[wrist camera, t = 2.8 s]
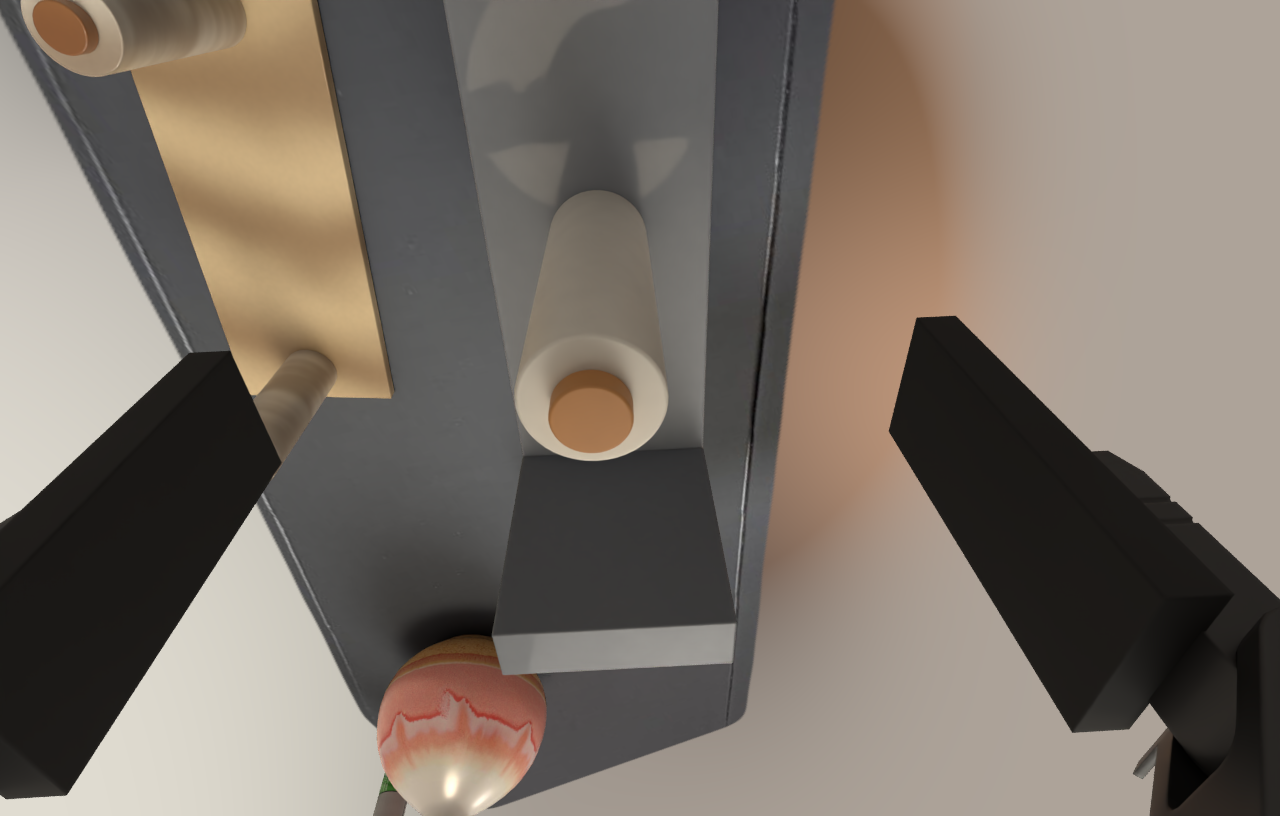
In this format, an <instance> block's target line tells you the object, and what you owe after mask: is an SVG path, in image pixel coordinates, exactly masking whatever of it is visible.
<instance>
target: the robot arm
mask: <svg viewBox="0 0 1280 816" xmlns="http://www.w3.org/2000/svg"><path fill="white" fill-rule="evenodd" d="M889 432H890V434H891V436H892V437H893V439H894V441H895V442H896V444H897V446H898V447H899V449H900V451H901V452H902V454H903V455H904V457H905V459H906V460H907V462H908V464H909V465H910V467H911V469H912V470H913V472H914V473H915V475H916V477H917V478H918V480H919V482H920V483H921V485H922V487H923V488H924V490H925V491H926V493H927V495H928V497H929V498H930V500H931V501H932V503H933V505H934V506H935V508H936V509H937V511H938V513H939V514H940V516H941V518H942V519H943V521H944V523H945V524H946V526H947V528H948V529H949V531H950V533H951V534H952V536H953V538H954V539H955V541H956V542H957V544H958V546H959V547H960V549H961V551H962V552H963V554H964V555H965V557H966V559H967V560H968V562H969V564H970V565H971V567H972V569H973V570H974V572H975V573H976V575H977V577H978V578H979V580H980V582H981V583H982V585H983V587H984V588H985V590H986V592H987V593H988V595H989V596H990V598H991V600H992V601H993V603H994V605H995V606H996V608H997V610H998V611H999V613H1000V615H1001V616H1002V618H1003V620H1004V621H1005V623H1006V625H1007V626H1008V628H1009V629H1010V631H1011V633H1012V634H1013V636H1014V637H1015V639H1016V641H1017V643H1018V644H1019V646H1020V647H1021V649H1022V651H1023V652H1024V654H1025V656H1026V657H1027V659H1028V661H1029V662H1030V664H1031V665H1032V667H1033V669H1034V670H1035V672H1036V674H1037V675H1038V677H1039V679H1040V680H1041V682H1042V683H1043V685H1044V687H1045V688H1046V690H1047V692H1048V693H1049V695H1050V697H1051V698H1052V700H1053V702H1054V703H1055V705H1056V707H1057V708H1058V710H1059V711H1060V713H1061V715H1062V716H1063V718H1064V720H1065V721H1066V723H1067V725H1068V726H1069V728H1070V730H1071V731H1072V733H1076V732H1091V731H1108V730H1124V729H1130V727H1131V726H1132V725H1133V723H1134V722H1135V721H1136V720H1137V719H1138V717H1139V716H1140V715H1141V713H1142V712H1143V711H1144V710H1145V708H1146V707H1147V706H1148V704H1149V703H1150V704H1151V706H1152V707H1153V708H1154V710H1155V711H1156V712H1157V714H1158V715H1159V716H1160V718H1161V719H1162V720H1163V722H1164V723H1165V724H1166V726H1167V727H1168V728H1167V729H1166V730H1165V731H1164V732H1163V734H1162V735H1161V736H1160V737H1159V738H1158V739H1157V741H1156V742H1155V743H1154V744H1153V745H1152V747H1151V748H1150V749H1149V750H1148V751H1147V752H1146V754H1145V755H1144V756H1143V757H1142V758H1141V760H1140V761H1139V762H1138V764H1137V766H1136V768H1135V770H1134V772H1133V774H1134V775H1136V776H1137V777H1139V778H1141V779H1143V778H1144V777H1145V776H1146V775H1147V774H1148V772H1149V771H1150V770H1151V769H1152V768H1153V767H1154V766H1155V772H1154V782H1153V791H1152V800H1151V808H1150V816H1280V599H1279V598H1278V597H1277V596H1276V595H1275V594H1273V593H1272V592H1271V591H1270V590H1269V589H1268V588H1267V587H1266V586H1265V585H1264V584H1263V583H1262V582H1261V581H1260V580H1259V579H1258V578H1256V577H1255V576H1254V575H1253V574H1252V573H1251V572H1250V571H1249V570H1248V569H1247V568H1246V567H1245V566H1244V565H1243V564H1242V563H1240V562H1239V561H1238V560H1237V559H1236V558H1235V557H1234V556H1233V555H1232V554H1231V553H1230V552H1229V551H1228V550H1227V549H1225V548H1224V547H1223V546H1222V545H1221V544H1220V543H1219V542H1218V541H1217V540H1216V539H1215V538H1214V537H1213V536H1212V535H1211V534H1210V533H1209V532H1207V531H1206V530H1205V529H1204V528H1203V527H1202V526H1201V525H1200V524H1199V523H1193V521H1192V518H1193V517H1192V516H1190V515H1189V514H1188V513H1187V512H1186V511H1185V510H1184V509H1183V508H1182V507H1181V506H1180V505H1179V504H1178V503H1177V502H1171V500H1170V496H1169V495H1168V494H1167V493H1166V492H1165V491H1164V490H1163V489H1162V488H1161V487H1160V486H1159V485H1157V484H1156V483H1155V482H1154V481H1153V480H1152V479H1151V478H1150V477H1149V476H1148V475H1147V474H1146V473H1145V472H1144V471H1142V470H1140V469H1138V468H1137V467H1135V466H1133V465H1132V464H1130V463H1128V462H1126V461H1125V460H1123V459H1121V458H1120V457H1118V456H1116V455H1114V454H1113V453H1111V452H1109V451H1094V452H1091V451H1090V450H1089V449H1088V448H1087V447H1086V446H1085V445H1084V444H1083V443H1082V442H1081V441H1080V440H1079V439H1078V438H1077V437H1076V436H1075V435H1074V434H1073V433H1072V432H1071V431H1070V430H1069V429H1068V428H1067V427H1066V426H1065V425H1064V424H1063V423H1062V422H1061V421H1060V420H1059V419H1058V418H1057V417H1056V416H1055V415H1054V414H1053V413H1052V412H1051V411H1050V410H1049V409H1048V408H1047V407H1046V406H1045V405H1044V404H1043V403H1042V402H1041V401H1040V400H1039V399H1038V398H1037V397H1036V396H1035V395H1034V394H1033V393H1032V392H1031V391H1030V390H1029V389H1028V388H1027V387H1026V386H1025V385H1024V384H1023V383H1022V382H1021V381H1020V380H1019V379H1018V378H1017V377H1016V376H1015V375H1014V374H1013V373H1012V372H1011V371H1010V370H1009V369H1008V368H1007V367H1006V366H1005V365H1004V364H1003V363H1002V362H1001V361H1000V360H999V359H998V358H997V357H996V356H995V355H994V354H993V353H992V352H991V351H990V350H989V349H988V348H987V347H986V346H985V345H984V344H983V343H982V342H981V341H980V340H979V339H978V338H977V337H976V336H975V335H974V334H973V333H972V332H971V331H970V330H969V329H968V328H967V327H966V326H965V325H964V324H963V323H962V322H961V321H960V320H959V319H958V318H957V317H956V316H942V317H921V318H917V319H916V322H915V326H914V330H913V335H912V339H911V343H910V347H909V351H908V355H907V359H906V364H905V367H904V371H903V375H902V380H901V383H900V388H899V392H898V396H897V400H896V404H895V408H894V413H893V416H892V420H891V424H890V428H889ZM281 464H282V462H281V460H280V458H279V456H278V453H277V451H276V449H275V447H274V445H273V442H272V440H271V438H270V436H269V434H268V432H267V429H266V427H265V425H264V423H263V421H262V419H261V416H260V414H259V412H258V410H257V408H256V406H255V403H254V401H253V399H252V397H251V395H250V393H249V390H248V388H247V386H246V384H245V382H244V380H243V377H242V375H241V373H240V371H239V369H238V367H237V364H236V362H235V360H234V358H233V356H232V354H231V351H219V352H198V353H189V354H188V355H187V356H185V357H184V358H183V359H182V360H181V361H180V362H179V363H178V364H177V365H176V366H175V367H174V368H173V369H172V370H171V371H170V372H168V373H167V374H166V375H165V376H164V377H163V378H162V379H161V380H160V381H159V382H158V383H157V384H156V385H154V386H153V387H152V388H151V389H150V390H149V391H148V392H147V393H146V394H145V395H144V396H143V397H142V398H141V399H140V400H138V402H136V403H135V404H134V405H133V406H132V407H131V408H130V409H129V410H128V411H127V412H126V413H125V414H123V415H122V416H121V417H120V418H119V419H118V420H117V421H116V422H115V423H114V424H113V425H112V426H111V427H110V428H108V429H107V430H106V432H104V433H103V434H102V435H101V436H100V437H99V438H98V439H97V440H96V441H95V442H94V443H92V444H91V445H90V446H89V447H88V448H87V449H86V450H85V451H84V452H83V453H82V454H81V455H80V456H79V457H77V458H76V459H75V460H74V461H73V462H72V463H71V464H70V465H69V466H68V467H67V468H66V469H65V470H64V471H63V472H61V473H60V474H59V476H57V477H56V478H55V479H54V480H53V481H52V482H51V483H50V484H49V485H48V486H46V488H44V489H43V490H42V491H41V492H40V493H39V494H38V495H37V496H36V497H35V498H34V499H33V500H32V501H30V502H29V503H28V504H27V505H26V506H25V507H24V508H23V509H22V510H21V511H19V512H17V513H16V514H14V515H13V516H11V517H10V518H8V519H6V520H5V521H3V522H2V523H0V795H1V796H2V797H4V798H5V799H16V798H32V797H49V796H65V795H67V794H68V793H69V791H70V790H71V788H72V786H73V785H74V783H75V782H76V780H77V779H78V777H79V776H80V774H81V773H82V771H83V769H84V768H85V766H86V765H87V763H88V762H89V760H90V759H91V757H92V756H93V754H94V752H95V750H96V749H97V748H98V746H99V745H100V743H101V742H102V740H103V739H104V737H105V735H106V734H107V732H108V731H109V729H110V728H111V726H112V725H113V723H114V722H115V720H116V718H117V717H118V715H119V714H120V712H121V711H122V709H123V708H124V706H125V704H126V703H127V701H128V700H129V698H130V697H131V695H132V694H133V692H134V691H135V689H136V688H137V686H138V684H139V683H140V681H141V680H142V678H143V677H144V675H145V674H146V672H147V671H148V669H149V667H150V666H151V664H152V663H153V661H154V660H155V658H156V656H157V655H158V653H159V652H160V650H161V649H162V647H163V646H164V644H165V643H166V641H167V640H168V638H169V637H170V635H171V633H172V632H173V630H174V629H175V627H176V626H177V624H178V623H179V621H180V619H181V618H182V616H183V615H184V613H185V612H186V610H187V609H188V607H189V606H190V604H191V602H192V601H193V599H194V598H195V596H196V595H197V593H198V592H199V590H200V589H201V587H202V586H203V584H204V582H205V581H206V579H207V578H208V576H209V575H210V573H211V572H212V570H213V569H214V567H215V566H216V564H217V562H218V561H219V559H220V558H221V556H222V555H223V553H224V552H225V550H226V549H227V547H228V545H229V544H230V542H231V541H232V539H233V538H234V536H235V534H236V533H237V531H238V530H239V528H240V527H241V525H242V524H243V522H244V521H245V519H246V518H247V516H248V515H249V513H250V511H251V510H252V508H253V507H254V505H255V504H256V502H257V501H258V499H259V498H260V496H261V494H262V493H263V491H264V490H265V488H266V487H267V485H268V484H269V482H270V481H271V479H272V477H273V476H274V474H275V473H276V471H277V470H278V468H279V467H280V465H281Z"/></svg>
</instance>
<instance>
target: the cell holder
mask: <svg viewBox="0 0 1280 816" xmlns="http://www.w3.org/2000/svg"><path fill="white" fill-rule="evenodd" d="M21 10H22V14H23V18H24V20H25V23H26V25H27V28H28V30H29V31H30V33H31V35H32V36H33V38H34V39H35V41H36V42H37V44H38V45H39V46H40V47H41V48H42V49H43V50H44V51H45V52H46V53H47V54H48V55H49V56H50V57H51V58H52V59H53V60H55V61H56V62H57V63H59V64H60V65H62V66H63V67H65V68H67V69H69V70H71V71H73V72H75V73H78V74H81V75H85V76H91V77H101V76H106V75H111V74H115V73H119V72H124V71H128V70H131V73H132V76H133V79H134V82H135V84H136V87H137V90H138V93H139V95H140V98H141V101H142V104H143V107H144V109H145V112H146V115H147V118H148V121H149V123H150V126H151V129H152V132H153V135H154V137H155V140H156V143H157V146H158V148H159V151H160V154H161V157H162V160H163V162H164V165H165V168H166V171H167V174H168V176H169V179H170V182H171V185H172V188H173V190H174V193H175V196H176V199H177V201H178V204H179V207H180V210H181V213H182V215H183V218H184V221H185V224H186V227H187V229H188V232H189V235H190V238H191V241H192V243H193V246H194V249H195V252H196V255H197V257H198V260H199V263H200V266H201V268H202V271H203V274H204V277H205V280H206V282H207V285H208V288H209V291H210V294H211V296H212V299H213V302H214V305H215V308H216V310H217V313H218V316H219V319H220V321H221V324H222V327H223V330H224V333H225V335H226V338H227V341H228V344H229V347H230V349H231V352H232V355H233V358H234V360H235V362H236V364H237V367H238V369H239V371H240V373H241V375H242V377H243V380H244V382H245V384H246V386H247V388H248V390H249V393H250V395H257V396H256V397H255V399H254V400H253V401H254V403H255V406H256V408H257V410H258V412H259V414H260V416H261V419H262V421H263V423H264V425H265V427H266V429H267V432H268V434H269V436H270V438H271V440H272V442H273V445H274V447H275V449H276V451H277V453H278V456H279V458H280V460H281V462H282V464H283V462H284V461H285V459H286V458H287V456H288V454H289V453H290V451H291V450H292V448H293V447H294V445H295V444H296V442H297V441H298V439H299V438H300V436H301V435H302V433H303V431H304V430H305V428H306V427H307V425H308V424H309V422H310V421H311V419H312V418H313V416H314V415H315V413H316V412H317V410H318V408H319V407H320V405H321V404H322V402H323V401H324V399H325V398H326V397H355V398H392V396H393V394H394V387H393V382H392V377H391V372H390V367H389V362H388V357H387V352H386V346H385V341H384V336H383V331H382V326H381V321H380V316H379V311H378V306H377V301H376V296H375V291H374V286H373V281H372V275H371V270H370V265H369V260H368V255H367V250H366V245H365V240H364V235H363V230H362V225H361V220H360V215H359V210H358V204H357V199H356V194H355V189H354V184H353V179H352V174H351V169H350V164H349V159H348V154H347V149H346V144H345V139H344V133H343V128H342V123H341V118H340V113H339V108H338V103H337V98H336V93H335V88H334V83H333V78H332V73H331V68H330V62H329V57H328V52H327V47H326V42H325V37H324V32H323V27H322V22H321V17H320V12H319V7H318V2H317V0H21ZM282 464H281V465H282ZM281 465H280V467H281ZM280 467H279V468H280ZM279 468H278V470H279ZM278 470H277V471H278ZM277 471H276V473H277ZM276 473H275V474H276ZM275 474H274V476H275ZM274 476H273V477H274ZM273 477H272V479H273ZM272 479H271V480H272Z"/></svg>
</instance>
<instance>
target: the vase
mask: <svg viewBox="0 0 1280 816" xmlns="http://www.w3.org/2000/svg"><path fill="white" fill-rule="evenodd" d="M546 707H547V706H546V697H545V693H544V689H543V686H542V683H541V681H540V679H539V677H538V675H537V673H536V674H517V675H502V671H501V668H500V664H499V660H498V656H497V653H496V649H495V645H494V642H493V638H492V637H490V636H485V635H479V634H465V635H459V636H455V637H452V638H449V639H447V640H445V641H442V642H439V643H436V644H434V645H431V646H429V647H427V648H425V649H424V650H422V651H420V652H419V653H417V654H416V655H414V656H413V657H412V658H411V659H410V660H408V661H407V662H406V663H405V664H404V665H403V666H402V667H401V668H400V669H399V670H398V672H397V673H396V675H395V676H394V677H393V679H392V680H391V682H390V683H389V685H388V687H387V689H386V692H385V695H384V697H383V700H382V703H381V706H380V710H379V716H378V725H377V744H378V751H379V755H380V759H381V763H382V766H383V768H384V771H385V773H386V775H387V777H388V779H389V780H390V782H391V783H392V785H393V787H394V788H395V789H396V790H397V792H398V793H399V794H400V795H401V796H402V797H403V798H404V799H405V800H406V801H407V802H408V803H409V804H410V805H411V806H412V807H413V808H414V809H415V810H417V811H418V812H419V813H420V814H421V815H422V816H474V815H476V814H477V813H479V812H481V811H483V810H485V809H486V808H488V807H490V806H491V805H493V804H494V803H496V802H497V801H498V800H500V799H501V798H503V797H504V796H505V795H506V794H507V793H508V792H510V791H511V790H512V789H513V788H514V787H515V786H516V785H517V784H518V783H519V781H520V780H521V779H522V778H523V777H524V775H525V774H526V772H527V771H528V769H529V768H530V766H531V765H532V763H533V761H534V759H535V757H536V755H537V753H538V750H539V747H540V744H541V741H542V739H543V735H544V731H545V724H546Z"/></svg>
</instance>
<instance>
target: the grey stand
mask: <svg viewBox="0 0 1280 816" xmlns="http://www.w3.org/2000/svg"><path fill="white" fill-rule="evenodd" d="M443 2H444V8H445V14H446V19H447V25H448V31H449V36H450V42H451V48H452V53H453V59H454V65H455V71H456V76H457V82H458V88H459V93H460V99H461V105H462V110H463V116H464V122H465V128H466V133H467V139H468V145H469V150H470V156H471V162H472V167H473V173H474V179H475V184H476V190H477V196H478V202H479V207H480V213H481V219H482V224H483V230H484V236H485V241H486V247H487V253H488V258H489V264H490V270H491V276H492V281H493V287H494V293H495V298H496V304H497V310H498V315H499V321H500V327H501V333H502V338H503V344H504V350H505V355H506V361H507V367H508V372H509V378H510V384H511V389H512V395H513V401H514V407H515V400H514V388H515V384H516V379H517V374H518V370H519V365H520V361H521V356H522V352H523V347H524V343H525V338H526V334H527V329H528V325H529V320H530V316H531V311H532V307H533V303H534V298H535V294H536V289H537V285H538V280H539V276H540V271H541V267H542V262H543V258H544V253H545V249H546V244H547V240H548V235H549V231H550V226H551V222H552V220H553V217H554V215H555V213H556V212H557V210H558V209H559V208H560V206H561V205H562V204H563V203H564V202H565V201H567V200H568V199H569V198H571V197H573V196H574V195H576V194H579V193H581V192H585V191H591V190H603V191H609V192H612V193H615V194H618V195H620V196H622V197H623V198H625V199H626V200H628V201H629V202H630V203H631V204H632V205H633V206H634V207H635V208H636V209H637V211H638V212H639V213H640V215H641V217H642V219H643V222H644V224H645V228H646V233H647V241H648V248H649V255H650V262H651V270H652V277H653V284H654V291H655V299H656V306H657V313H658V320H659V328H660V335H661V342H662V349H663V357H664V364H665V371H666V378H667V386H668V394H669V398H668V407H667V412H666V415H665V417H664V420H663V422H662V424H661V425H660V427H659V429H658V430H657V431H656V433H655V434H654V435H653V436H652V437H651V438H650V439H649V440H648V441H647V442H646V443H645V444H643V445H642V446H641V447H639V448H638V449H636V450H634V451H632V452H630V453H628V454H626V455H623V456H620V457H617V458H613V459H608V460H600V461H585V460H577V459H572V458H568V457H565V456H562V455H559V454H557V453H554V452H552V451H551V450H549V449H547V448H545V447H544V446H542V445H541V444H540V443H538V442H537V441H536V440H535V439H534V438H533V437H532V436H531V435H530V434H529V433H528V431H527V430H526V429H525V427H524V426H523V424H522V422H521V420H520V418H519V416H518V414H517V410H516V407H515V412H516V418H517V424H518V429H519V435H520V441H521V446H522V452H523V459H522V465H521V470H520V476H519V482H518V488H517V493H516V499H515V505H514V511H513V516H512V522H511V528H510V533H509V539H508V545H507V551H506V556H505V562H504V568H503V574H502V579H501V585H500V591H499V597H498V602H497V608H496V614H495V619H494V625H493V631H492V638H493V642H494V645H495V649H496V653H497V656H498V660H499V664H500V668H501V671H502V675H517V674H536V673H554V672H573V671H592V670H610V669H629V668H647V667H666V666H685V665H703V664H722V663H733V659H734V648H735V638H736V627H737V620H736V615H735V610H734V604H733V599H732V594H731V589H730V584H729V579H728V574H727V568H726V563H725V558H724V553H723V548H722V543H721V537H720V532H719V527H718V522H717V517H716V512H715V506H714V501H713V496H712V491H711V486H710V481H709V476H708V470H707V465H706V460H705V455H704V450H703V431H704V402H705V374H706V345H707V317H708V288H709V260H710V231H711V202H712V174H713V145H714V117H715V88H716V60H717V31H718V3H719V0H443Z"/></svg>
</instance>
